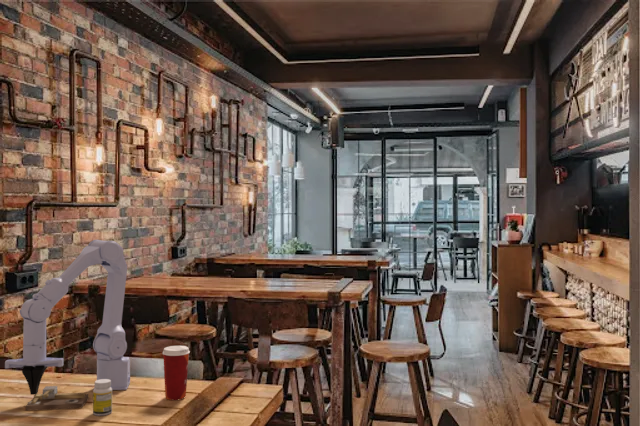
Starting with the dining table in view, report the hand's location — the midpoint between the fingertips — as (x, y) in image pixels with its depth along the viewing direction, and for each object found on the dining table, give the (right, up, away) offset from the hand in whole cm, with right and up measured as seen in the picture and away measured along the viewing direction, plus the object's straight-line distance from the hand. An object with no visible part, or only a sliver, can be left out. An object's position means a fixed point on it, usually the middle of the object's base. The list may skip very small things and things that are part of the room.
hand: (34, 393), depth 168 cm
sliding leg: (+4, -1, -1) cm, 5 cm away
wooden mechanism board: (+7, -3, 0) cm, 7 cm away
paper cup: (+37, -3, +7) cm, 38 cm away
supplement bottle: (+21, -3, -8) cm, 23 cm away
